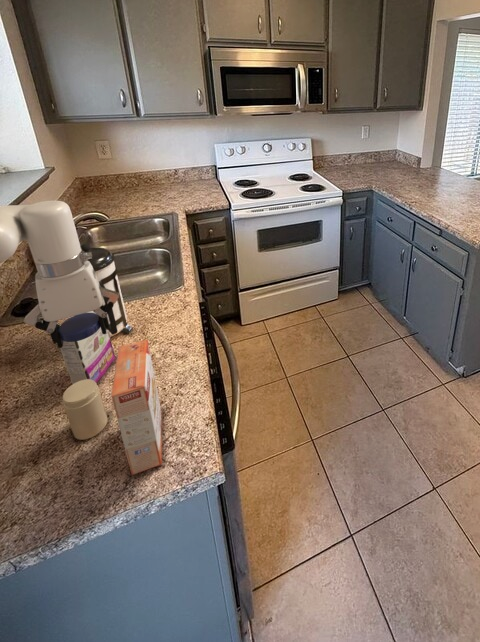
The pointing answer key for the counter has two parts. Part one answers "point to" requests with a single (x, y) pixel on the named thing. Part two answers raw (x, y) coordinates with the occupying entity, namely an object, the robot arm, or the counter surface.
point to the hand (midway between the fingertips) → (83, 336)
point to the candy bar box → (88, 356)
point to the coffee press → (109, 287)
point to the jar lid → (79, 327)
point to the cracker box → (138, 406)
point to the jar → (85, 409)
